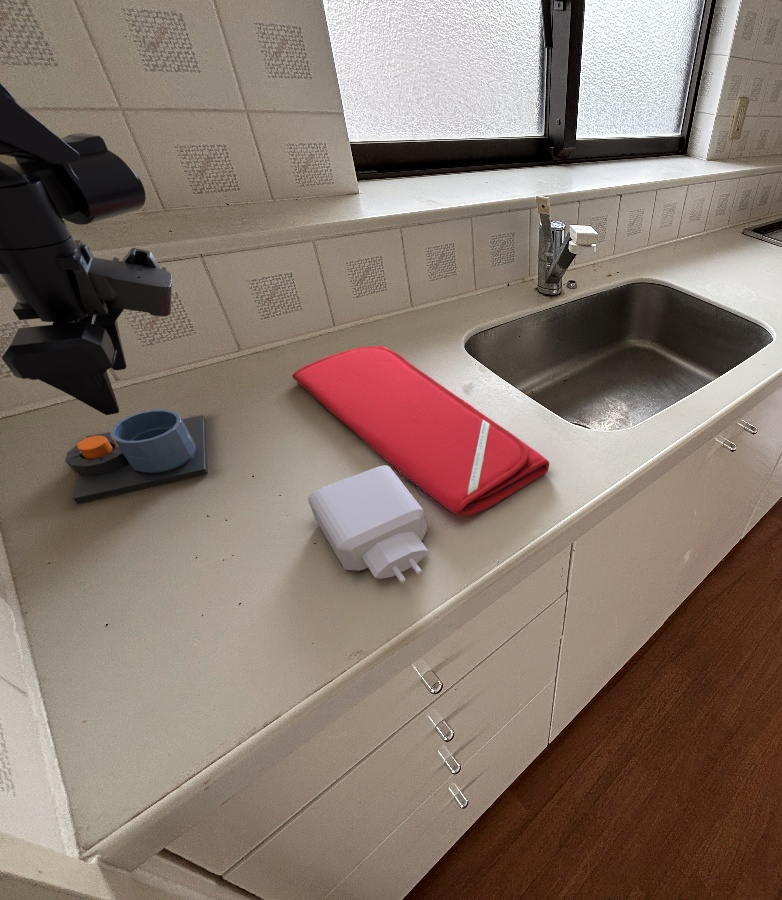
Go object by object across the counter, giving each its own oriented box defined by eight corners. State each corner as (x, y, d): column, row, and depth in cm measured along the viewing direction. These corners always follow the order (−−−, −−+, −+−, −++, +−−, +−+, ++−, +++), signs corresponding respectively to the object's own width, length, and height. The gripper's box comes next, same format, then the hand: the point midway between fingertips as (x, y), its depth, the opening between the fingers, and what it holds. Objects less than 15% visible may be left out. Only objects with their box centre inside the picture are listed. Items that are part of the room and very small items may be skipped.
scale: (70, 505, 55) (57, 489, 53) (84, 442, 62) (73, 427, 61) (207, 474, 61) (199, 459, 59) (206, 420, 68) (198, 405, 66)
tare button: (82, 462, 57) (75, 451, 56) (85, 448, 59) (78, 438, 58) (112, 456, 58) (105, 446, 57) (114, 443, 60) (107, 433, 59)
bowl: (130, 481, 57) (107, 448, 54) (133, 449, 61) (113, 416, 58) (197, 466, 60) (180, 434, 57) (197, 436, 64) (180, 404, 61)
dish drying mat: (387, 353, 87) (383, 333, 84) (552, 471, 68) (553, 450, 66) (293, 383, 77) (286, 362, 74) (456, 531, 58) (454, 509, 56)
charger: (370, 615, 49) (316, 522, 57) (455, 569, 54) (394, 490, 62) (361, 587, 46) (305, 493, 54) (451, 541, 51) (388, 462, 59)
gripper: (139, 269, 41) (210, 421, 51) (150, 206, 53) (206, 339, 62) (-59, 282, 36) (64, 448, 46) (2, 209, 47) (89, 354, 57)
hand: (117, 390), depth 53 cm, fingers open, 9 cm apart
